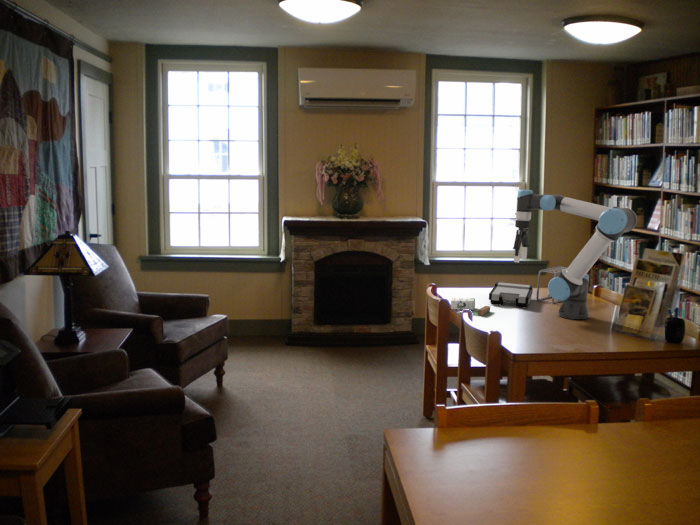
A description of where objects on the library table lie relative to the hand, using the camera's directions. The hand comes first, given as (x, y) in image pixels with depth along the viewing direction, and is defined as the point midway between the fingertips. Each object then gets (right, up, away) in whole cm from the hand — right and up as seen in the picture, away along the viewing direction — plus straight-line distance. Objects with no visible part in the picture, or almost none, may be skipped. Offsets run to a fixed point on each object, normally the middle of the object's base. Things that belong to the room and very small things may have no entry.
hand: (520, 260), depth 368 cm
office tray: (+1, -24, +28) cm, 36 cm away
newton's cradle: (+31, -22, +42) cm, 57 cm away
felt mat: (-24, -27, -5) cm, 36 cm away
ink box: (-23, -22, +2) cm, 32 cm away
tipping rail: (-20, -27, -7) cm, 34 cm away
